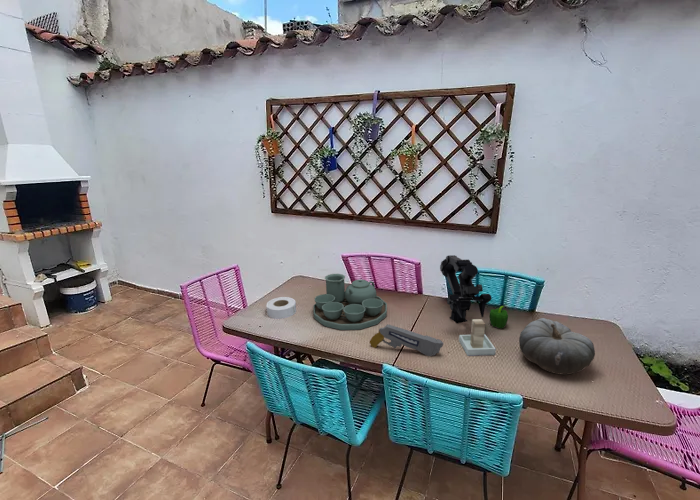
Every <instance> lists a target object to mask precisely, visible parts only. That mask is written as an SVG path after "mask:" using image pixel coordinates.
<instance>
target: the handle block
mask: <svg viewBox="0 0 700 500" xmlns="http://www.w3.org/2000/svg"><path fill="white" fill-rule="evenodd" d="M485 327H486V323H485V322H484V320H483V319H482V318H481V319H479V318H476V319H471V329H470V330H471V331H470V335H471V340H470V345H471V346H472V348H483V341H484V334H485V330H486V329H485Z"/></svg>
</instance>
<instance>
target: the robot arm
mask: <svg viewBox="0 0 700 500" xmlns="http://www.w3.org/2000/svg"><path fill="white" fill-rule="evenodd" d="M439 270H440V272H441V274H442V276H443V277H445V278H446V279H447V281H448V284H449V287H450V290H451V293H452V294H451V293H450V294H449V295H448V297H447V298H446V303H447V305H449V308H450V309H451V312H450V316H449V319H450V320H452V321H453V322H454V323H455V324H463V323H466V322H468V321H469V319H467V311H470V308H471V306H472V302H473V301H475V302H476V301H478V302H479V303H478V307H479V312H480V316H481V318H484V316H485V315H484V314H485V309H486V305H487V304H488V303H490V302H491V300H492V299H493V298H492V295H491V294H490V293H483V292H484V291H483V290H484V289H483V285H482V284H480V283H479V284H476V285H474V283H473V279H474V278H476V275H477V274H478V272H479V269H478V267H477V266H476V265H474V264H473V262H472V261H471V260H470V259H462V258H459V257H458V256H457V255H446V257H445V259H443V260H441V262H440V265H439ZM456 273H459V274H458V276H457V274H456ZM479 292H482V293H481V294H480V293H479ZM478 294H480V295H479V296H477V295H478Z"/></svg>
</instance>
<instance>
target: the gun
mask: <svg viewBox="0 0 700 500" xmlns="http://www.w3.org/2000/svg"><path fill="white" fill-rule="evenodd" d="M385 339H388V340H389V342H388V341H386V340H385ZM381 342H382V343H384V344H387V345H388V346H390V347H393V348H395V349H396V348H398V347H399V348H400V347H402V346H404V347H406V348H409V349H413V350H415V351H418V352H419V353H421V354H423V355H425V356H427V357H432V356H436V354H439V353H440V351H441V348H442V347H443V345H444V341H442V340H441V339H438V338H436V337H432V336H430V335H427V334H425V335H424V334H421V333H417V332H414V331H410V330H407V329H406V328H405V329H404V328H401V327H398V326H395V325H391V324H386V325H385V326H384V327H380V328H378V332H377V333H375V334H373V336H372V337H371V339H370V340H369V344H370V347H372V348H373V349H376V348H378V346H379V344H381Z"/></svg>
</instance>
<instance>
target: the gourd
mask: <svg viewBox="0 0 700 500" xmlns="http://www.w3.org/2000/svg"><path fill="white" fill-rule="evenodd" d="M518 341H519V349H520V351H521V354H523V355H524V357H525V358H526V359H528V361H529V362H531V363H534V364H535V365H537V366H539V368H540V369H542V370H544V371H547V372H550V373H553V374H557V375H571V374H575V373H579V372H581V371H583V370H585V368H587V367H588V366H590V364H591V363H592V362H593V360H594V359H595V356H596V351H595V350H596V349H595V346H594V343H593V341H592V340H591V339H590V338H589V337H587V336H585V335H583V334H581V333H579V332H574V331H572V330H571V328H569V327H568V326H566V325H564V324H563V323H562V322H559V321H554V320H552V319H547V318H545V317H541V318H539V319H536V320H533V321H531V322H529V323H528V324H527V325H526V326H525V327H524V328H523V329H522V330H521V332H520V334H519V338H518Z"/></svg>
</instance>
